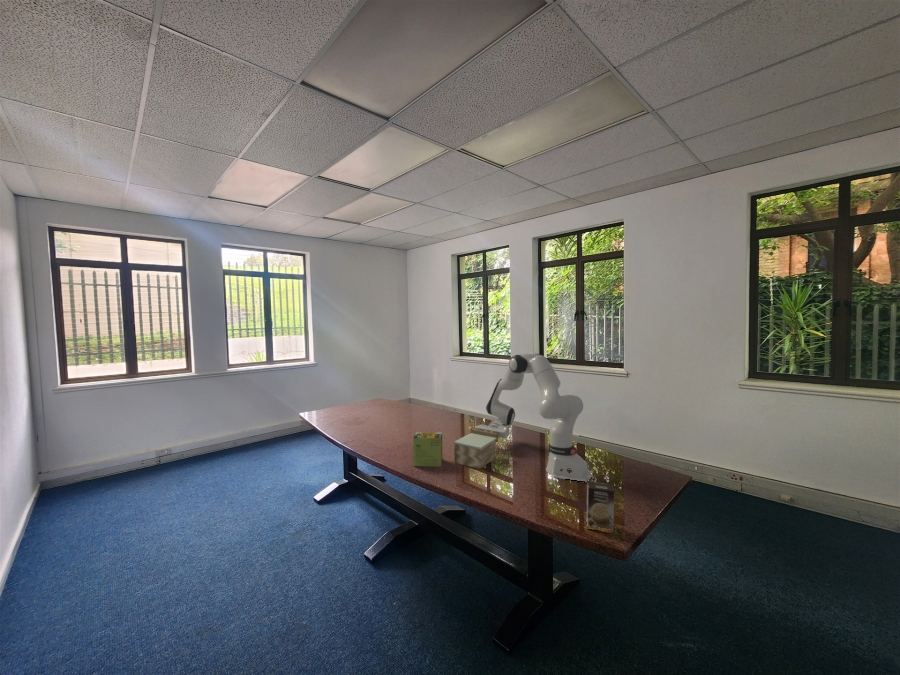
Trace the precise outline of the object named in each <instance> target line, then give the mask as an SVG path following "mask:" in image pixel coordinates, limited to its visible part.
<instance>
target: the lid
mask: <svg viewBox="0 0 900 675" xmlns="http://www.w3.org/2000/svg"><path fill="white" fill-rule="evenodd" d="M494 441H496V443H497V442H498V441H499V437H498V433H493V432H487V431H482V430H477V429H475V428H471V429H470V433H469V434H466V435H464V436H463V437H460V438H458V439H456V440H455V441H453V444H454V445H455V444H456V445H461V446H465V447H470V448H474V449H479V450H481V449H483V448H485V447H486V446H488V445H489V444H491V443H493V442H494Z"/></svg>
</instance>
